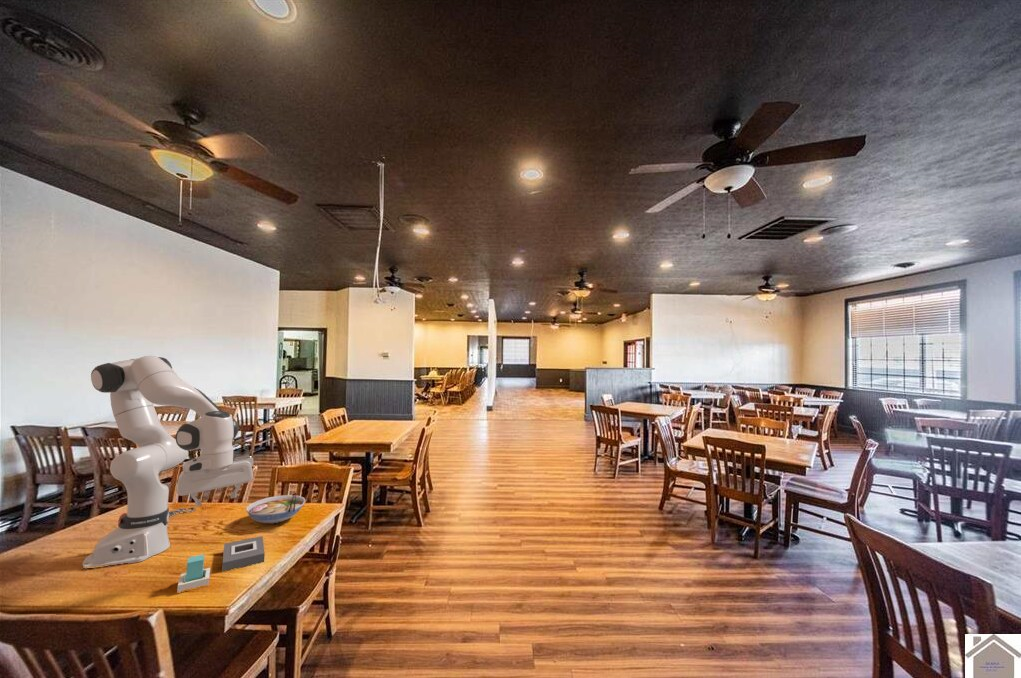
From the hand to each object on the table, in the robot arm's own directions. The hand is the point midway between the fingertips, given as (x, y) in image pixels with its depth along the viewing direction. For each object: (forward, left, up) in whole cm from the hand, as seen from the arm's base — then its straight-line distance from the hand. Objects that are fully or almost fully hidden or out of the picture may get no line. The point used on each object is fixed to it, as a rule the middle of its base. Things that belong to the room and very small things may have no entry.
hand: (216, 501), depth 128 cm
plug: (-4, -3, -24) cm, 25 cm away
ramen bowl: (+21, +39, -24) cm, 50 cm away
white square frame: (-4, -3, -24) cm, 25 cm away
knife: (-21, +65, -25) cm, 72 cm away
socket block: (+9, +9, -24) cm, 27 cm away
